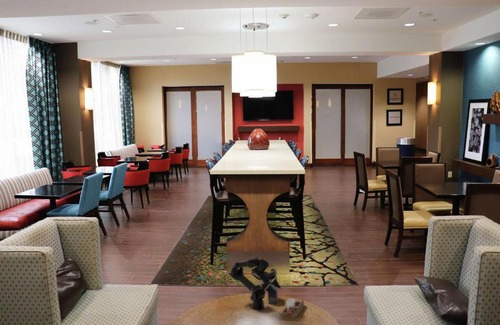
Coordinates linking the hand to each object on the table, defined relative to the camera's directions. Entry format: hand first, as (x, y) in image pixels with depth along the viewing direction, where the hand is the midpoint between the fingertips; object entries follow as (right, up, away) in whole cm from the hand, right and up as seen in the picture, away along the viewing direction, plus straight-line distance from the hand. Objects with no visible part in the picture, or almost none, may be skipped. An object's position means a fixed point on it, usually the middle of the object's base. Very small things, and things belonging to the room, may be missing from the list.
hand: (278, 290), depth 298 cm
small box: (-3, -13, +17) cm, 22 cm away
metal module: (+8, -12, -8) cm, 17 cm away
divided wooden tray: (+10, -13, -3) cm, 17 cm away
